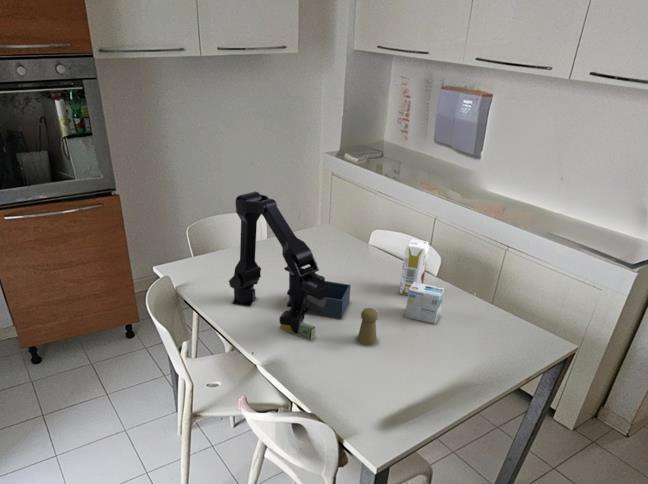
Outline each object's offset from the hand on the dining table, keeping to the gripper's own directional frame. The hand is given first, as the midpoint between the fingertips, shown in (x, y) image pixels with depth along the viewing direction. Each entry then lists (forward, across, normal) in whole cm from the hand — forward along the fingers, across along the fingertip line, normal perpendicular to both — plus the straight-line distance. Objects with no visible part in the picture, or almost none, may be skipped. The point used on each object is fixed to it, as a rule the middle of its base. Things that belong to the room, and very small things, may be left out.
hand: (297, 330), depth 168 cm
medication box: (+1, 0, 0) cm, 1 cm away
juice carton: (+1, +41, -31) cm, 51 cm away
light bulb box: (+1, +24, -37) cm, 44 cm away
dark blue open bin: (+1, +19, -3) cm, 19 cm away
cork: (+1, +3, -22) cm, 22 cm away
